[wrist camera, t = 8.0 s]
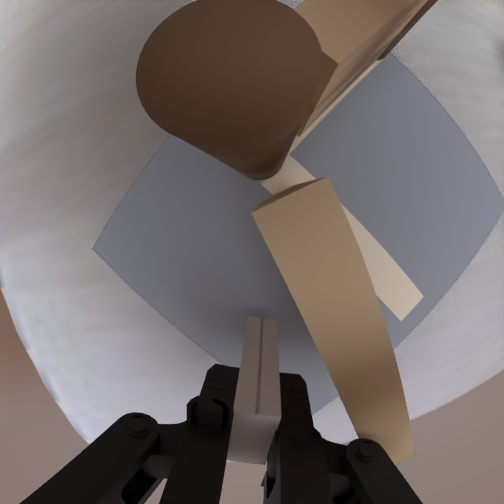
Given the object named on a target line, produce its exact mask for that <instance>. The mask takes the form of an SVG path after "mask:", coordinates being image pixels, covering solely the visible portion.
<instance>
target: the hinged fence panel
mask: <svg viewBox="0 0 504 504" xmlns="http://www.w3.org/2000/svg"><path fill="white" fill-rule="evenodd" d="M251 214H252V216H253V218H254V220H255V222H256V224H257V226H258V228H259V230H260V232H261V234H262V236H263V238H264V240H265V242H266V244H267V246H268V248H269V250H270V252H271V254H272V256H273V258H274V260H275V262H276V264H277V266H278V268H279V270H280V272H281V274H282V276H283V278H284V280H285V282H286V284H287V286H288V288H289V290H290V293H291V295H292V297H293V299H294V301H295V303H296V305H297V307H298V309H299V311H300V313H301V315H302V317H303V319H304V321H305V324H306V326H307V328H308V330H309V332H310V334H311V336H312V338H313V340H314V342H315V345H316V347H317V349H318V351H319V353H320V355H321V357H322V359H323V361H324V364H325V366H326V368H327V370H328V372H329V374H330V376H331V379H332V381H333V383H334V385H335V387H336V389H337V391H338V394H339V396H340V398H341V400H342V402H343V404H344V407H345V409H346V411H347V413H348V415H349V418H350V420H351V422H352V424H353V426H354V429H355V431H356V433H357V435H358V437H359V439H361V438H366V439H371V440H373V441H375V442H377V443H379V444H380V445H381V446H382V447H383V449H384V450H385V451H386V453H387V454H388V456H389V457H390V458H391V460H392V461H393V463H394V464H395V466H396V465H398V464H400V463H403V462H405V461H407V460H409V459H411V458H413V457H415V453H414V446H413V440H412V434H411V428H410V422H409V416H408V411H407V406H406V401H405V396H404V392H403V387H402V383H401V379H400V375H399V370H398V366H397V362H396V359H395V355H394V351H393V347H392V344H391V340H390V337H389V333H388V330H387V327H386V323H385V320H384V317H383V314H382V310H381V307H380V304H379V301H378V298H377V295H376V292H375V289H374V286H373V284H372V281H371V278H370V275H369V272H368V270H367V267H366V264H365V261H364V259H363V256H362V254H361V251H360V248H359V246H358V243H357V241H356V238H355V236H354V233H353V231H352V229H351V226H350V224H349V221H348V219H347V217H346V214H345V212H344V210H343V207H342V205H341V203H340V201H339V198H338V196H337V194H336V192H335V190H334V188H333V185H332V183H331V181H330V179H329V177H328V176H327V177H323V178H319V179H315V180H311V181H308V182H304V183H300V184H296V185H293V186H291V187H289V188H287V189H285V190H283V191H281V192H278V193H276V194H274V195H272V196H270V197H268V198H266V199H264V200H263V201H262V202H261V203H260V204H259V205H258V206H257V207H256V208H255V209H254V210H253V211H252V213H251Z"/></svg>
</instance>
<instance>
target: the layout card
mask: <svg viewBox="0 0 504 504" xmlns="http://www.w3.org/2000/svg"><path fill="white" fill-rule="evenodd" d="M327 176H328V177H329V179H330V181H331V183H332V185H333V188H334V190H335V192H336V194H337V196H338V198H339V201H340V203H341V205H342V207H343V210H344V212H345V214H346V217H347V219H348V221H349V224H350V226H351V229H352V231H353V233H354V236H355V238H356V241H357V243H358V246H359V248H360V251H361V254H362V256H363V259H364V261H365V264H366V267H367V270H368V272H369V275H370V278H371V281H372V284H373V286H374V289H375V292H376V295H377V298H378V301H379V304H380V307H381V310H382V314H383V317H384V320H385V323H386V327H387V330H388V333H389V337H390V340H391V344H392V347H393V349H394V348H395V347H396V346H397V345H398V344H399V343H400V342H401V341H402V340H403V339H404V338H405V337H406V336H407V335H408V334H409V333H410V332H411V331H412V330H413V329H414V328H415V327H416V326H417V325H418V324H419V323H420V322H421V321H422V320H423V319H424V318H425V317H426V316H427V315H428V313H429V312H430V311H431V310H432V309H433V308H434V307H435V306H436V304H437V303H438V302H439V301H440V300H441V299H442V298H443V296H444V295H445V294H446V293H447V292H448V290H449V289H450V288H451V287H452V285H453V284H454V283H455V282H456V280H457V279H458V278H459V277H460V275H461V274H462V273H463V271H464V270H465V269H466V267H467V266H468V265H469V263H470V262H471V261H472V259H473V258H474V256H475V255H476V254H477V252H478V251H479V249H480V248H481V246H482V245H483V243H484V242H485V240H486V239H487V237H488V236H489V234H490V233H491V231H492V230H493V228H494V226H495V225H496V223H497V221H498V220H499V218H500V216H501V215H502V213H503V211H504V199H503V197H502V195H501V193H500V191H499V189H498V187H497V185H496V184H495V182H494V180H493V178H492V177H491V175H490V173H489V171H488V170H487V168H486V166H485V165H484V163H483V162H482V160H481V158H480V157H479V155H478V154H477V152H476V151H475V149H474V148H473V146H472V145H471V143H470V142H469V140H468V139H467V137H466V136H465V135H464V133H463V132H462V131H461V129H460V128H459V127H458V125H457V124H456V123H455V121H454V120H453V119H452V117H451V116H450V115H449V114H448V112H447V111H446V110H445V109H444V108H443V106H442V105H441V104H440V103H439V102H438V100H437V99H436V98H435V97H434V96H433V95H432V94H431V92H430V91H429V90H428V89H427V88H426V87H425V86H424V85H423V84H422V83H421V82H420V81H419V80H418V79H417V77H416V76H415V75H414V74H413V73H412V72H411V71H410V70H409V69H408V68H406V67H405V66H404V65H403V64H402V63H401V62H400V61H399V60H398V59H397V58H396V57H395V56H394V55H393V54H391V53H390V52H389V53H388V54H387V56H386V57H385V58H384V59H382V60H376V61H375V62H374V63H373V64H372V65H371V66H370V67H369V68H368V69H367V70H366V71H365V72H364V73H363V74H362V75H361V76H360V77H359V78H358V79H356V80H355V81H354V82H353V83H352V84H351V85H350V86H349V87H348V88H347V89H346V90H345V91H344V92H343V93H342V94H341V95H340V96H339V97H338V98H337V99H336V100H335V101H334V102H333V103H332V104H331V105H330V106H329V107H328V108H327V109H326V110H325V111H324V112H323V113H322V114H321V115H320V116H319V117H318V118H317V120H316V121H315V122H314V123H313V124H312V125H311V126H310V127H309V128H308V129H307V130H306V131H305V132H304V133H303V134H302V135H301V136H300V137H299V136H297V135H296V137H295V139H294V141H293V143H292V146H291V148H290V150H289V152H288V154H287V157H286V159H285V161H284V163H283V166H282V168H281V169H280V171H279V172H278V173H277V174H276V175H274V176H273V177H271V178H269V179H265V180H254V179H250V178H248V177H246V176H245V175H243V174H241V173H240V172H238V171H236V170H235V169H233V168H231V167H229V166H228V165H226V164H224V163H223V162H221V161H219V160H217V159H216V158H214V157H212V156H210V155H208V154H207V153H205V152H203V151H201V150H200V149H198V148H196V147H194V146H192V145H190V144H189V143H187V142H185V141H183V140H181V139H179V138H178V137H176V136H174V135H172V134H171V135H170V136H169V138H168V139H167V140H166V141H165V142H164V144H163V145H162V146H161V147H160V149H159V150H158V151H157V153H156V154H155V155H154V156H153V158H152V159H151V160H150V162H149V163H148V164H147V166H146V167H145V168H144V170H143V171H142V172H141V174H140V175H139V177H138V178H137V179H136V181H135V182H134V184H133V185H132V186H131V188H130V189H129V191H128V192H127V194H126V195H125V197H124V198H123V200H122V201H121V203H120V204H119V206H118V207H117V209H116V210H115V212H114V213H113V215H112V216H111V218H110V220H109V221H108V223H107V224H106V226H105V228H104V229H103V231H102V233H101V234H100V236H99V238H98V239H97V241H96V243H95V245H94V246H93V248H92V249H93V250H94V251H95V252H96V253H97V254H98V255H99V256H100V257H101V258H102V259H103V260H104V261H105V262H106V263H107V264H108V265H109V266H110V267H111V268H112V269H113V270H114V271H115V272H116V273H117V274H118V275H119V276H120V277H121V278H122V279H123V280H124V281H125V282H126V283H127V284H128V285H129V286H130V287H131V288H132V289H133V290H134V291H135V292H137V293H138V294H139V295H140V296H141V297H142V298H143V299H144V300H145V301H146V302H147V303H149V304H150V305H151V306H152V307H153V308H154V309H155V310H156V311H158V312H159V313H160V314H161V315H162V316H163V317H164V318H166V319H167V320H168V321H169V322H170V323H171V324H173V325H174V326H175V327H176V328H177V329H179V330H180V331H181V332H182V333H183V334H185V335H186V336H187V337H188V338H190V339H191V340H192V341H193V342H195V343H196V344H197V345H198V346H200V347H201V348H202V349H203V350H205V351H206V352H207V353H209V354H210V355H211V356H212V357H214V358H215V359H216V360H218V361H219V362H220V363H222V364H223V365H225V366H231V367H238V368H240V365H241V359H242V352H243V346H244V340H245V334H246V328H247V321H248V316H251V317H258V318H264V319H272V320H277V338H278V356H279V372H282V373H292V374H300V375H301V376H302V378H303V379H304V380H305V381H306V384H307V390H308V392H307V393H308V396H309V401H310V407H311V413H312V415H313V414H314V413H315V412H317V411H318V410H320V409H321V408H323V407H324V406H325V405H327V404H328V403H329V402H331V401H332V400H333V399H335V398H336V397H337V396H339V394H338V391H337V389H336V387H335V385H334V383H333V381H332V379H331V376H330V374H329V372H328V370H327V368H326V366H325V364H324V361H323V359H322V357H321V355H320V353H319V351H318V349H317V347H316V345H315V342H314V340H313V338H312V336H311V334H310V332H309V330H308V328H307V326H306V324H305V321H304V319H303V317H302V315H301V313H300V311H299V309H298V307H297V305H296V303H295V301H294V299H293V297H292V295H291V293H290V290H289V288H288V286H287V284H286V282H285V280H284V278H283V276H282V274H281V272H280V270H279V268H278V266H277V264H276V262H275V260H274V258H273V256H272V254H271V252H270V250H269V248H268V246H267V244H266V242H265V240H264V238H263V236H262V234H261V232H260V230H259V228H258V226H257V224H256V222H255V220H254V218H253V216H252V214H251V213H252V211H253V210H254V209H255V208H256V207H257V206H258V205H259V204H260V203H261V202H262V201H263V200H264V199H266V198H268V197H270V196H272V195H274V194H276V193H278V192H281V191H283V190H285V189H287V188H289V187H291V186H293V185H296V184H300V183H304V182H308V181H311V180H315V179H319V178H323V177H327Z"/></svg>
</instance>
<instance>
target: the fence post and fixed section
mask: <svg viewBox="0 0 504 504" xmlns="http://www.w3.org/2000/svg"><path fill="white" fill-rule="evenodd" d="M436 1H437V0H306V1H305V2H303V3H302V4H300V5H299V6H298V7H296V8H295V9H292V8H290V7H288V6H287V5H285V4H283V3H281V2H279V1H276V0H197V1H195V2H192V3H190V4H188V5H186V6H184V7H182V8H181V9H179V10H177V11H176V12H174V13H173V14H171V15H170V16H169V17H168V18H167V19H165V20H164V21H163V22H162V23H161V24H160V25H159V26H158V27H157V28H156V29H155V30H154V32H153V33H152V34H151V36H150V37H149V39H148V40H147V42H146V44H145V45H144V47H143V49H142V52H141V54H140V57H139V60H138V64H137V70H136V86H137V92H138V96H139V99H140V101H141V104H142V106H143V107H144V109H145V111H146V112H147V114H148V115H149V116H150V118H151V119H152V120H153V121H154V122H155V123H156V124H157V125H158V126H160V127H161V128H162V129H164V130H165V131H167V132H168V133H170V134H172V135H174V136H176V137H178V138H179V139H181V140H183V141H185V142H187V143H189V144H190V145H192V146H194V147H196V148H198V149H200V150H201V151H203V152H205V153H207V154H208V155H210V156H212V157H214V158H216V159H217V160H219V161H221V162H223V163H224V164H226V165H228V166H229V167H231V168H233V169H235V170H236V171H238V172H240V173H241V174H243V175H245V176H246V177H248V178H250V179H254V180H265V179H269V178H271V177H273V176H274V175H276V174H277V173H278V172H279V171H280V169H281V168H282V166H283V163H284V161H285V159H286V157H287V154H288V152H289V150H290V148H291V146H292V143H293V141H294V139H295V137H296V135H297V136H299V137H300V136H301V135H302V134H303V133H304V132H305V131H306V130H307V129H308V128H309V127H310V126H311V125H312V124H313V123H314V122H315V121H316V120H317V118H318V117H319V116H320V115H321V114H322V113H323V112H324V111H325V110H326V109H327V108H328V107H329V106H330V105H331V104H332V103H333V102H334V101H335V100H336V99H337V98H338V97H339V96H340V95H341V94H342V93H343V92H344V91H345V90H346V89H347V88H348V87H349V86H350V85H351V84H352V83H353V82H354V81H355V80H356V79H358V78H359V77H360V76H361V75H362V74H363V73H364V72H365V71H366V70H367V69H368V68H369V67H370V66H371V65H372V64H373V63H374V62H375V61H376V60H382V59H384V58H385V57H386V56H387V54H388V53H389V52H390V51H391V50H392V49H393V48H394V47H395V46H396V44H397V43H398V42H399V41H400V40H401V39H402V38H403V37H404V36H405V35H406V33H407V32H408V31H409V30H410V29H411V28H412V27H413V26H414V25H415V24H416V23H417V22H418V20H419V19H420V18H421V17H422V16H423V15H424V14H425V13H426V12H427V11H428V10H429V9H430V8H431V7H432V6H433V5H434V3H435V2H436Z"/></svg>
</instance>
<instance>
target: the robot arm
mask: <svg viewBox="0 0 504 504" xmlns="http://www.w3.org/2000/svg"><path fill="white" fill-rule="evenodd" d="M307 392H308V390H307V384H306V381H305V380H304V379H303V378H302V376H301V375H300V374H292V373H282V372H279V356H278V338H277V320H272V319H264V318H258V317H251V316H248V321H247V328H246V334H245V340H244V346H243V352H242V359H241V365H240V368H238V367H231V366H225V365H220V364H215V365H213V366H212V367H211V368H210V369H209V370H208V371H207V374H206V377H205V381H204V384H203V387H202V390H201V393H200V396H196V397H195V398H193V399H191V400H190V401H189V403H188V404H187V420H186V421H184V422H182V423H178V424H158V423H157V421H156V420H155V419H154V418H152V417H151V416H150V415H147V414H144V413H136V412H133V413H129V414H125V415H124V416H122V417H120V418H119V419H118V420H117V421H116V422H115V423H114V424H112V425H111V426H110V427H109V428H108V429H107V430H106V431H105V432H104V433H102V434H101V435H100V436H99V437H98V438H97V439H96V440H95V441H93V442H92V443H91V444H90V445H89V446H88V447H87V448H85V449H84V450H83V451H82V452H81V453H80V454H79V455H77V456H76V457H75V458H74V459H73V460H72V461H70V462H69V463H68V464H67V465H66V466H65V467H63V468H62V469H61V470H60V471H59V472H58V473H56V474H55V475H54V476H53V477H52V478H51V479H49V480H48V481H47V482H46V483H44V484H43V485H42V486H41V487H40V488H38V489H37V490H36V491H35V492H33V493H32V494H31V495H30V496H29V497H27V498H26V499H25V500H23V501H22V502H21V503H20V504H144V503H145V502H146V501H147V499H148V498H149V497H150V496H151V494H152V493H153V492H154V491H155V489H156V488H157V487H158V485H159V484H160V483H161V481H162V480H163V479H164V478H168V479H167V482H166V485H165V488H164V491H163V494H162V497H161V500H160V503H159V504H219V501H220V496H221V490H222V484H223V478H224V471H225V466H226V460H230V461H237V462H245V463H253V464H264V465H265V464H266V461H267V471H266V473H265V476H264V478H263V481H262V484H261V486H264V502H263V504H423V503H422V502H421V501H420V499H419V498H418V496H417V495H416V494H415V492H414V491H413V490H412V488H411V487H410V485H409V484H408V482H407V481H406V480H405V478H404V477H403V475H402V474H401V473H400V471H399V470H398V468H397V467H396V466H395V464H394V463H393V461H392V460H391V458H390V457H389V456H388V454H387V453H386V451H385V450H384V449H383V447H382V446H381V445H380V444H379V443H377V442H375V441H373V440H371V439H366V438H361V439H356V440H353V441H351V442H350V443H349V444H348V446H346V445H342V444H337V443H333V442H330V441H327V440H325V439H324V438H322V437H321V435H320V433H319V432H318V431H317V430H316V429H315V428H314V426H313V419H312V413H311V407H310V401H309V396H308V393H307Z"/></svg>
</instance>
